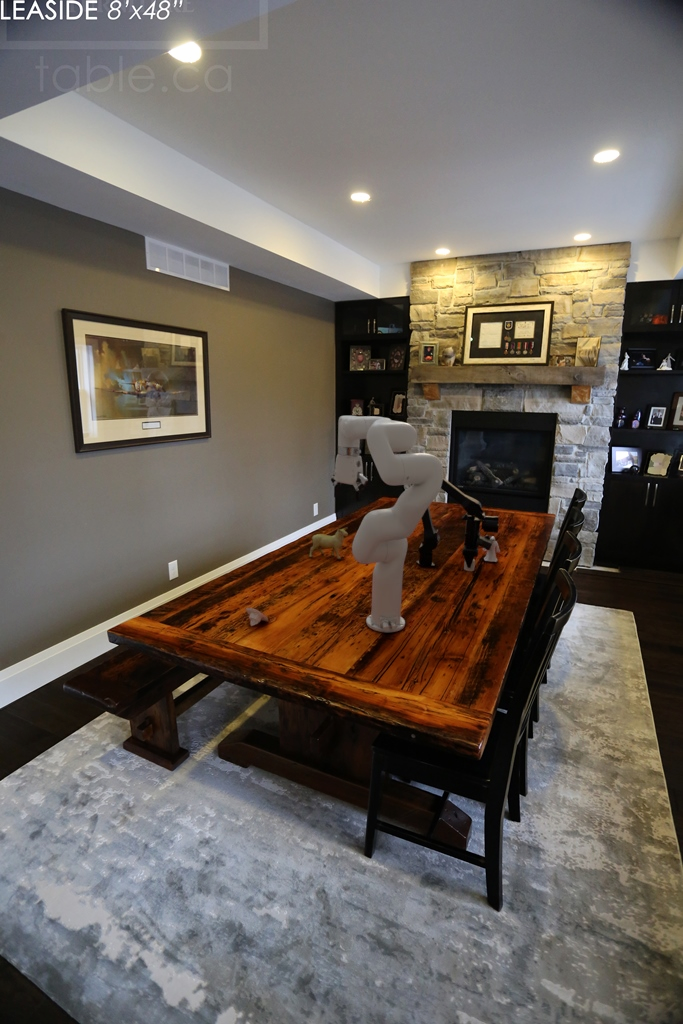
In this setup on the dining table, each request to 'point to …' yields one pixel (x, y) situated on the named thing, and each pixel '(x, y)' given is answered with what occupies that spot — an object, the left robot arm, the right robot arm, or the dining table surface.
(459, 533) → the dining table surface
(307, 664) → the dining table surface
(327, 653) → the dining table surface
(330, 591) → the dining table surface
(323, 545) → the toy
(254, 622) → the seashell
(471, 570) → the canister
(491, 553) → the figurine
